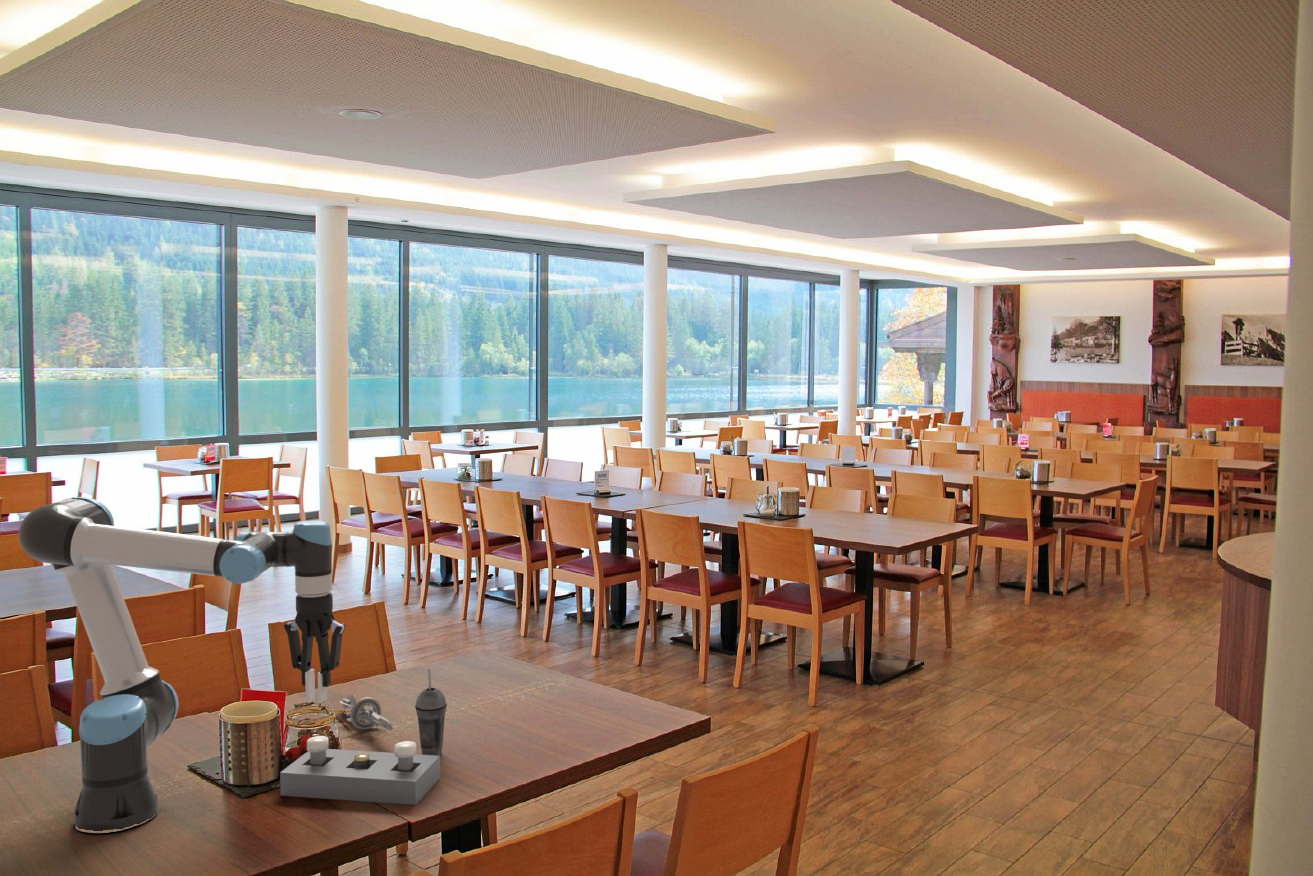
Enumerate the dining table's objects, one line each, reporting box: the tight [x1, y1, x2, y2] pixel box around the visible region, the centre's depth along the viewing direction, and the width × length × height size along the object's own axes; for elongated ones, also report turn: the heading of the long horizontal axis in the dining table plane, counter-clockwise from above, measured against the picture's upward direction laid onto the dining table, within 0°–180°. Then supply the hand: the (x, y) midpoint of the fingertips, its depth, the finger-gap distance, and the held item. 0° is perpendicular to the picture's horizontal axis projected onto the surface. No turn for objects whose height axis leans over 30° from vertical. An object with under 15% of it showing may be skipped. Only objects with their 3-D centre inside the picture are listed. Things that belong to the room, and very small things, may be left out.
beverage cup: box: [414, 668, 448, 757], centre depth 238 cm, size 7×7×20 cm
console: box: [279, 748, 441, 806], centre depth 220 cm, size 14×30×5 cm, turn 81°
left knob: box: [306, 735, 330, 765], centre depth 221 cm, size 4×4×5 cm
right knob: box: [394, 740, 417, 770], centre depth 218 cm, size 4×4×5 cm
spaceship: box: [339, 694, 393, 731], centre depth 255 cm, size 8×35×8 cm
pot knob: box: [354, 753, 369, 769], centre depth 220 cm, size 3×3×3 cm
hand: (316, 700), depth 220 cm, fingers open, 2 cm apart
